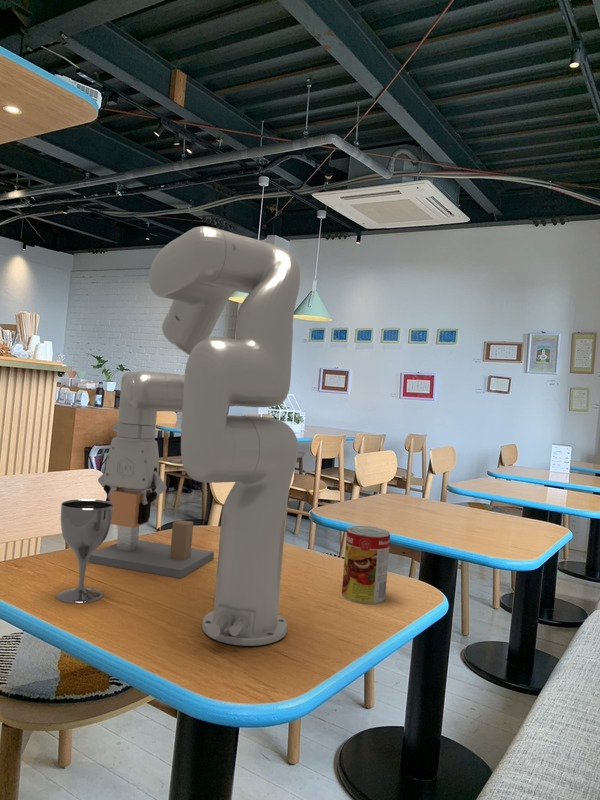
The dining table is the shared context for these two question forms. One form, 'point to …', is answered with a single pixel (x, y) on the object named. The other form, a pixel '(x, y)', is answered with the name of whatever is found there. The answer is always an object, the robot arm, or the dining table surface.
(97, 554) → the post stand
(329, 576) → the dining table surface
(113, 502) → the tan cardboard box
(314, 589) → the dining table surface
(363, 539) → the canned food
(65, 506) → the wine glass
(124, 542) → the steel post
